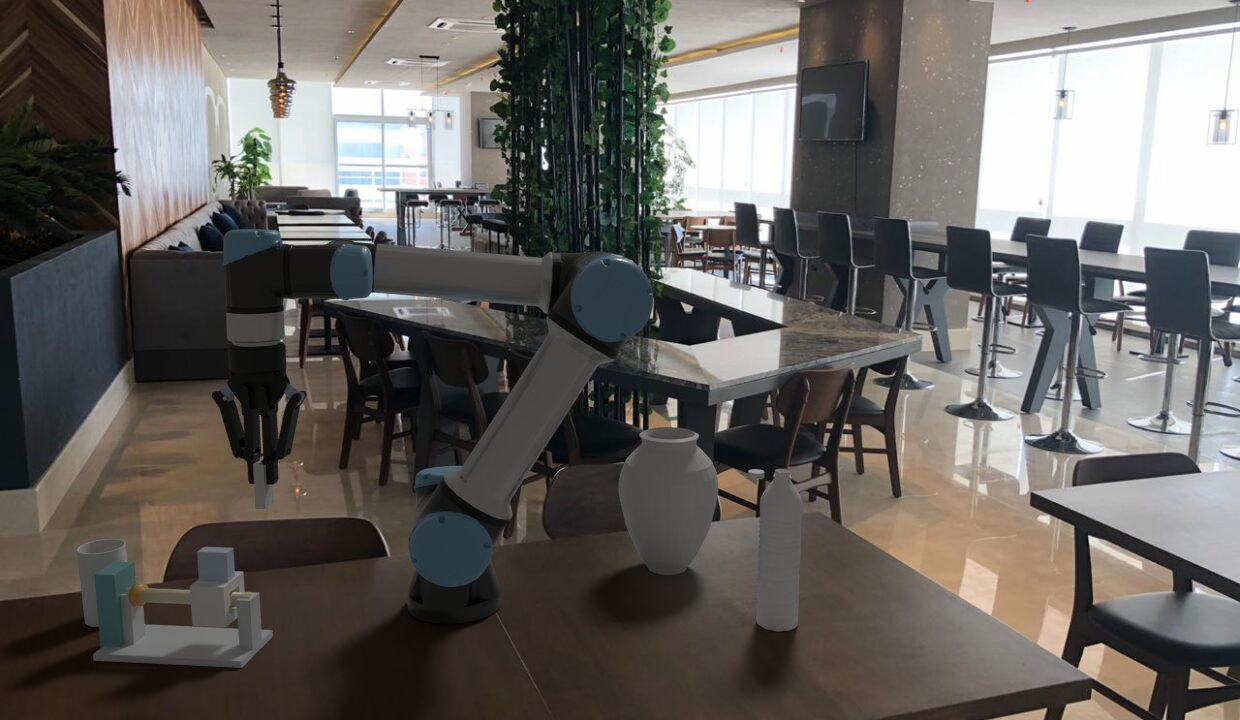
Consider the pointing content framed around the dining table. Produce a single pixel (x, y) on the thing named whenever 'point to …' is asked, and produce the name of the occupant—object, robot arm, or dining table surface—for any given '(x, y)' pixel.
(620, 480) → the vase
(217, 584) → the grey stepped block
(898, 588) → the dining table surface
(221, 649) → the grey vise fixture
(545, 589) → the dining table surface
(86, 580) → the mug
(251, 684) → the dining table surface
